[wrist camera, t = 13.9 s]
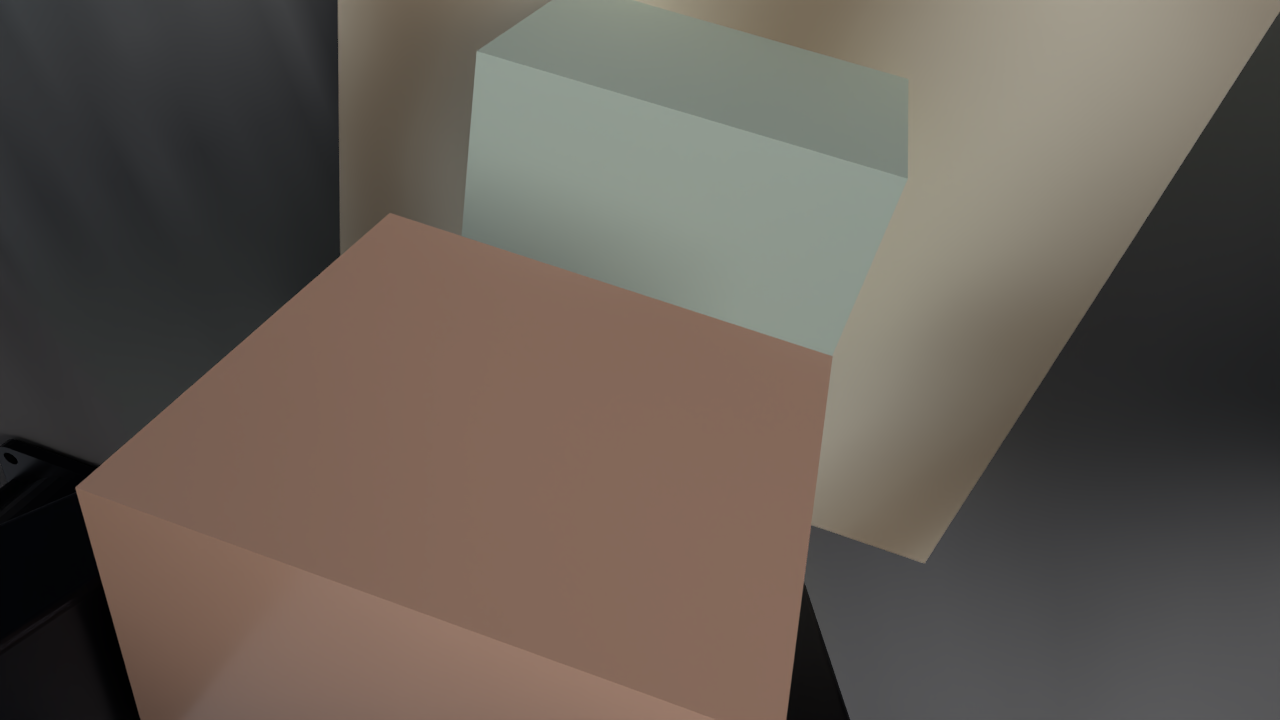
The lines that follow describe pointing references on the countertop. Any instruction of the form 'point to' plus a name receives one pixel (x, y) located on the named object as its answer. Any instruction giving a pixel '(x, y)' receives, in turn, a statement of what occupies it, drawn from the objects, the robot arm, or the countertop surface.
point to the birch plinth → (926, 211)
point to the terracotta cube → (468, 504)
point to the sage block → (687, 163)
